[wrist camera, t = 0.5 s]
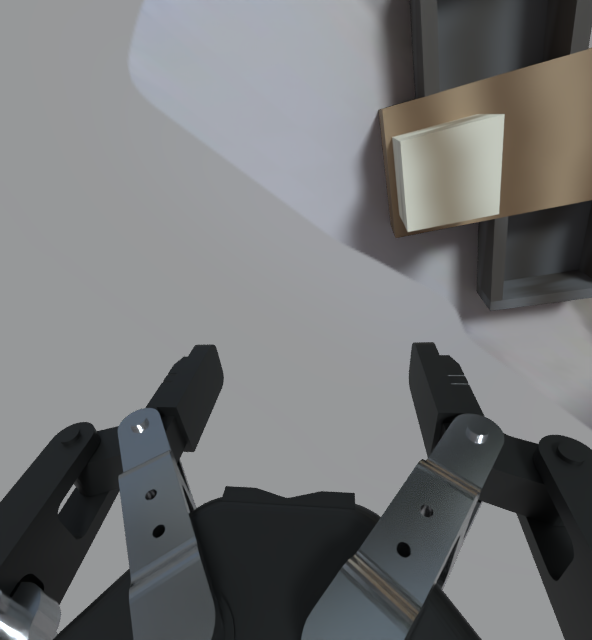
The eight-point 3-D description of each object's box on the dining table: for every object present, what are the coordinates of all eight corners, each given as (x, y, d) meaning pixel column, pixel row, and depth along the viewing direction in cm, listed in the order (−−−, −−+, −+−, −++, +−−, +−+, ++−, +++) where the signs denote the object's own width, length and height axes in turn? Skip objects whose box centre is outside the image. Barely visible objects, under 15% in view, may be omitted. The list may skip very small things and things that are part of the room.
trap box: (897, -252, 17) (1195, -451, 11) (701, 259, 30) (786, 294, 24) (362, -36, 23) (366, -86, 17) (399, 303, 37) (408, 339, 31)
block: (477, 114, 24) (504, 114, 20) (475, 198, 27) (499, 214, 22) (391, 137, 25) (400, 141, 21) (399, 214, 28) (407, 232, 24)
